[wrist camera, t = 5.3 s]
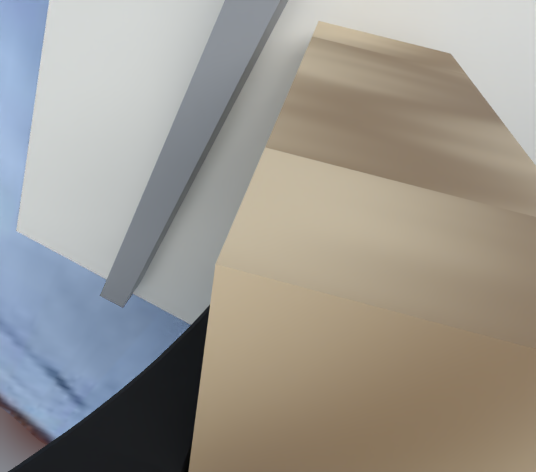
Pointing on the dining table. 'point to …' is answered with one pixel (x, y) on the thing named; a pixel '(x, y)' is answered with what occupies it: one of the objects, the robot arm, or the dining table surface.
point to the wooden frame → (376, 278)
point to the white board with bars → (209, 119)
